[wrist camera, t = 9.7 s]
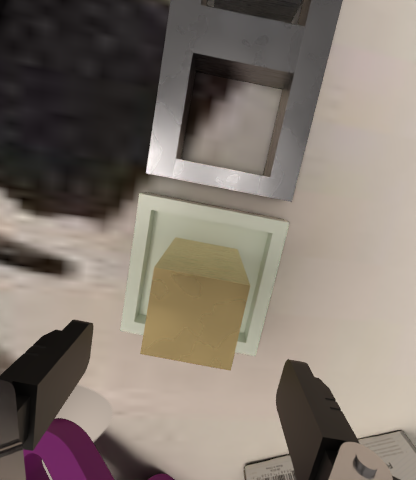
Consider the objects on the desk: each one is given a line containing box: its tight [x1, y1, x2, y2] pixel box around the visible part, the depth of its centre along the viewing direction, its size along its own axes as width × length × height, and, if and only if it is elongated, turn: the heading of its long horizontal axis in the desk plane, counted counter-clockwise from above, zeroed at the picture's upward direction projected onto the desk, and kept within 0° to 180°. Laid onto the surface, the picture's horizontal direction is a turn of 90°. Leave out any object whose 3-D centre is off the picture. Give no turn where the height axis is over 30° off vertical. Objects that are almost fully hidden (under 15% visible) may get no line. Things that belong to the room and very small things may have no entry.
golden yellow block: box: [140, 237, 250, 370], centre depth 19 cm, size 5×5×8 cm
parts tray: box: [120, 192, 289, 356], centre depth 22 cm, size 11×11×2 cm
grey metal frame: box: [146, 0, 343, 202], centre depth 19 cm, size 18×10×3 cm, turn 169°
